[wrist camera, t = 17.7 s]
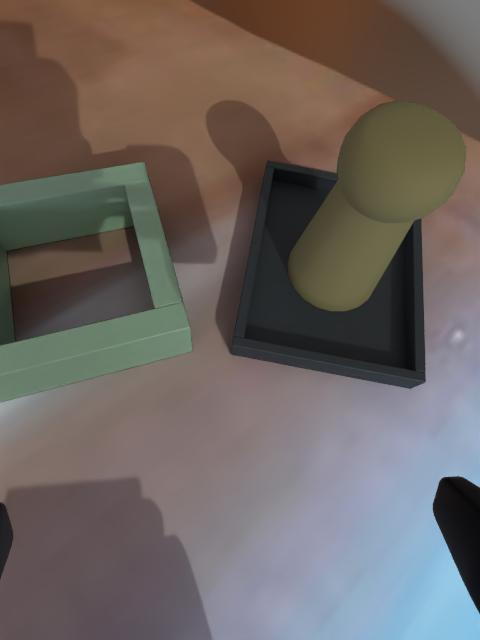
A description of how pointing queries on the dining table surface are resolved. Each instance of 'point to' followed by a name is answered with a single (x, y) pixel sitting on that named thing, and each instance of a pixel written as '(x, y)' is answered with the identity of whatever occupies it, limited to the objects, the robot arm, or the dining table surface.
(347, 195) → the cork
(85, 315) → the dining table surface
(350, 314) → the tray
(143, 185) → the caddy
